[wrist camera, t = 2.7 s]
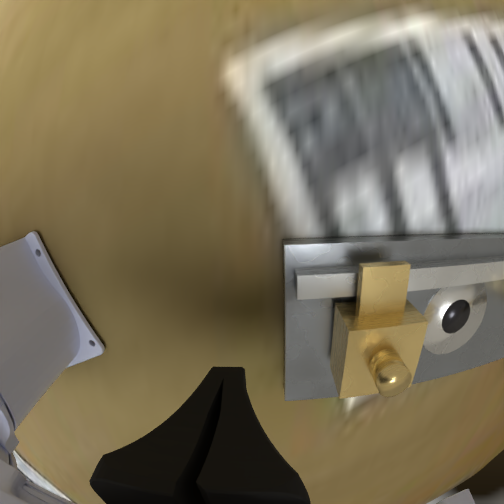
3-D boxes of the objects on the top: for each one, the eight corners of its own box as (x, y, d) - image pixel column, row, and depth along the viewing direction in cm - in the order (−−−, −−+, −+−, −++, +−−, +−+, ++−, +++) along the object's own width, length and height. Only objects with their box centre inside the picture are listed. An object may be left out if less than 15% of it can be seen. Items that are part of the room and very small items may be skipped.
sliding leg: (329, 365, 15) (345, 421, 11) (337, 257, 14) (366, 294, 10) (393, 357, 15) (421, 406, 11) (410, 253, 14) (456, 285, 9)
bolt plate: (284, 388, 18) (289, 475, 11) (282, 239, 15) (297, 295, 9) (519, 341, 17) (562, 382, 10) (545, 232, 14) (604, 257, 7)
